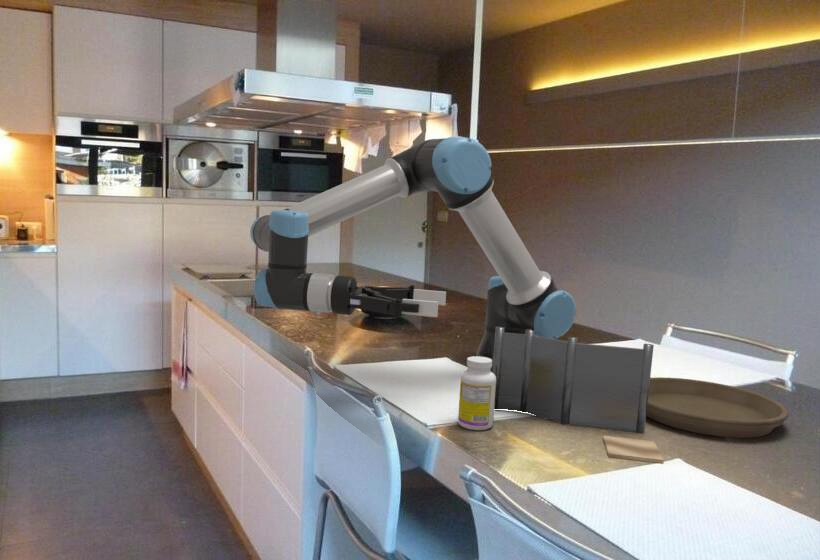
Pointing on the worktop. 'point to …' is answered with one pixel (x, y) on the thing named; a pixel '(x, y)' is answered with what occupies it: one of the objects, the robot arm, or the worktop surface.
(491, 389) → the supplement bottle
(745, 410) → the plant saucer
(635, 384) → the grey ribbed panel
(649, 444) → the coaster
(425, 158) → the robot arm
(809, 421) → the worktop surface
